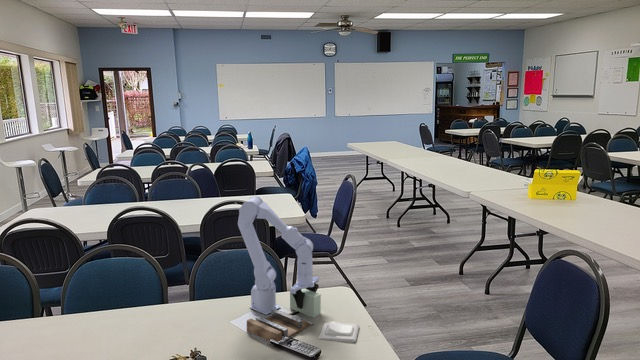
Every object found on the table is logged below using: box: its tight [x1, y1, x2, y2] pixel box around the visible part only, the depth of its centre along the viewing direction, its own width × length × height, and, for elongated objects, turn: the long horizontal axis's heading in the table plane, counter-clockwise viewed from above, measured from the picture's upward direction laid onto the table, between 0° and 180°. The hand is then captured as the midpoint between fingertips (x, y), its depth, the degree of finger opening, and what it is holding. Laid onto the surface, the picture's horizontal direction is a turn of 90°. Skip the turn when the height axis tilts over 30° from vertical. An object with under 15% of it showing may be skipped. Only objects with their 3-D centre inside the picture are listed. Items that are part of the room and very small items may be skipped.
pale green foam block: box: [289, 288, 322, 318], centre depth 173 cm, size 5×12×8 cm, turn 51°
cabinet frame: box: [246, 309, 312, 342], centre depth 160 cm, size 15×17×4 cm
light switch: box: [318, 320, 360, 343], centre depth 157 cm, size 11×4×13 cm
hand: (305, 305), depth 173 cm, fingers open, 6 cm apart
